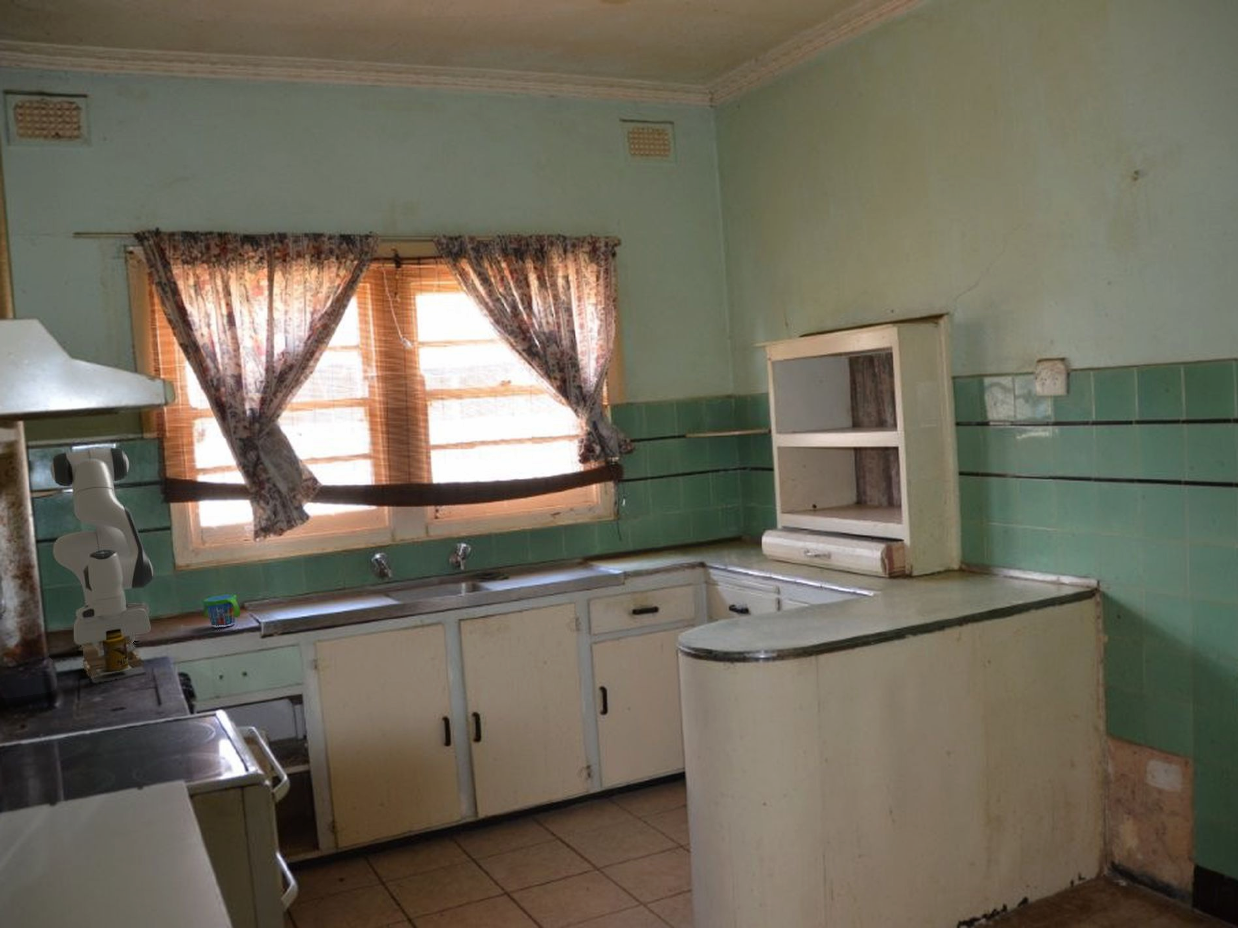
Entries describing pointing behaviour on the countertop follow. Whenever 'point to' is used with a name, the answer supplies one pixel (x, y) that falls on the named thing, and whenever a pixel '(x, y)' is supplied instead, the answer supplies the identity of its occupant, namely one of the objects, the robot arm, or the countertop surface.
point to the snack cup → (221, 609)
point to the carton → (94, 660)
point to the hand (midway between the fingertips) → (115, 653)
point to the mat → (118, 674)
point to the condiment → (114, 652)
